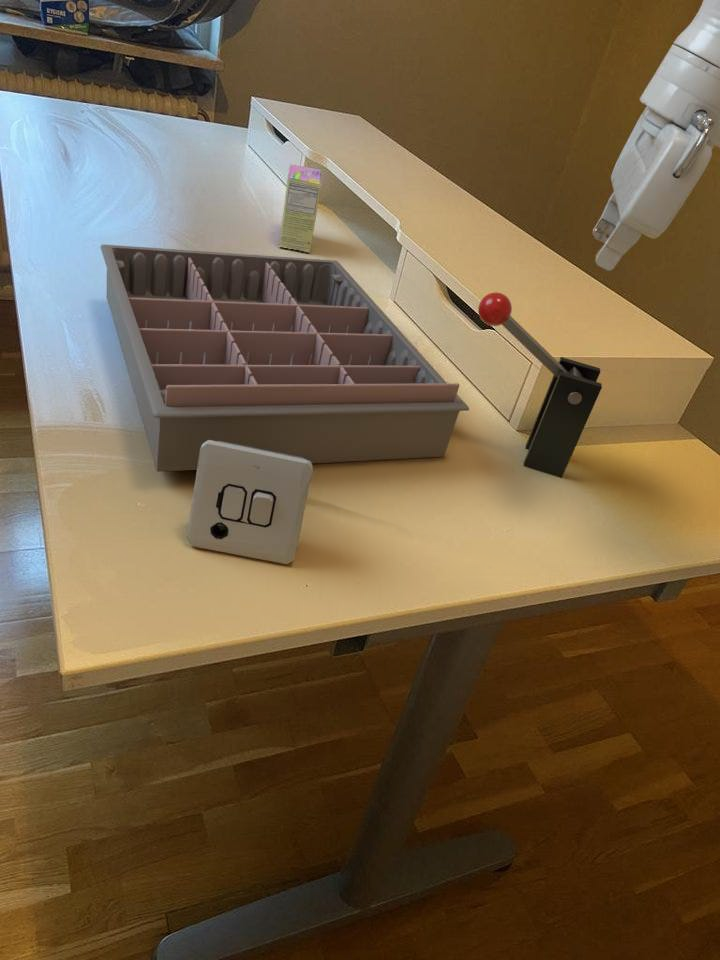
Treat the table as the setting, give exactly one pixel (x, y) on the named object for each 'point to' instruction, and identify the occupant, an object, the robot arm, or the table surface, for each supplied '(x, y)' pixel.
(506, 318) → the switch lever
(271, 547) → the electrical switch
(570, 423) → the switch bracket
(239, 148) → the table surface
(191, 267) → the organizer tray
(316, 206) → the box
